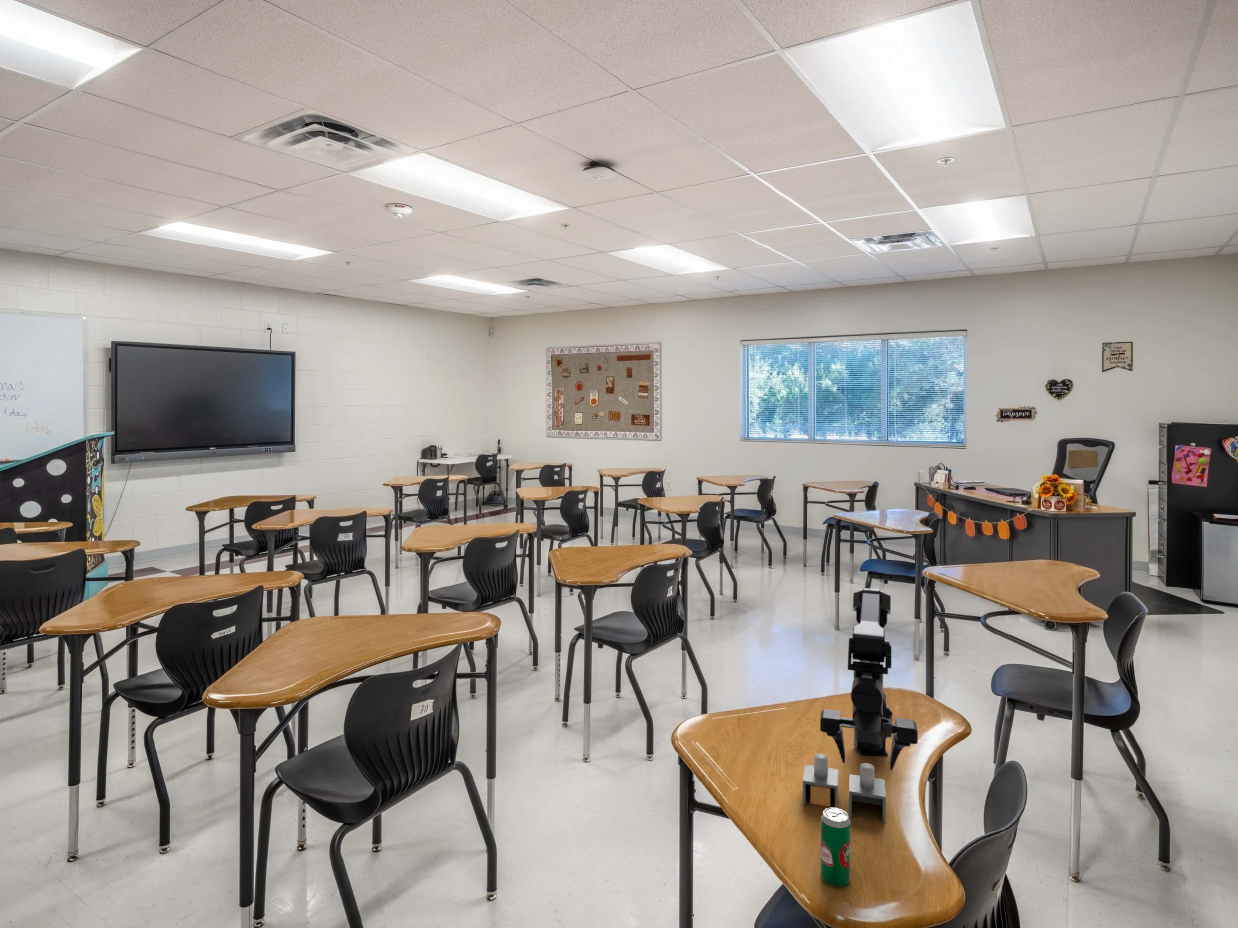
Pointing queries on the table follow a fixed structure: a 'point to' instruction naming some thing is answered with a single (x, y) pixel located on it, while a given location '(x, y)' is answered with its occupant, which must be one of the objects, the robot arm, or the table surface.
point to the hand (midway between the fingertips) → (867, 765)
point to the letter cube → (820, 795)
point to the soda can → (835, 847)
